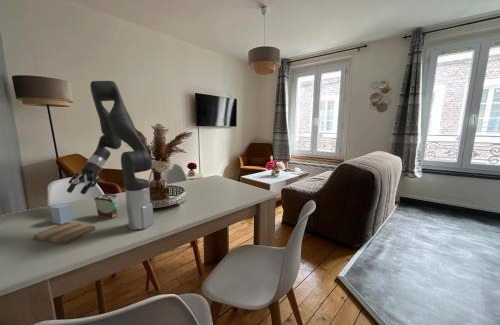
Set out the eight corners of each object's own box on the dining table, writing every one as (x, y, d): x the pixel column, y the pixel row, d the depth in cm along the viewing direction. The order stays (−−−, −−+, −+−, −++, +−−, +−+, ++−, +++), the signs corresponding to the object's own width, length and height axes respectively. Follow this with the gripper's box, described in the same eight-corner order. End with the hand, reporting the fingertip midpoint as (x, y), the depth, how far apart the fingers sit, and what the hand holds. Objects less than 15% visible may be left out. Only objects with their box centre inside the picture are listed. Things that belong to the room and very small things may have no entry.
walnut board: (95, 229, 94) (94, 226, 93) (65, 244, 82) (65, 240, 82) (66, 225, 97) (65, 222, 97) (34, 238, 86) (33, 235, 86)
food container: (125, 214, 109) (124, 195, 108) (114, 219, 104) (112, 199, 102) (107, 211, 113) (105, 192, 112) (96, 215, 108) (93, 196, 106)
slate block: (72, 219, 103) (70, 204, 102) (61, 224, 99) (58, 208, 97) (64, 218, 105) (61, 203, 103) (52, 222, 100) (50, 207, 99)
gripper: (78, 160, 114) (57, 188, 105) (100, 162, 111) (80, 190, 102) (88, 168, 120) (70, 195, 111) (110, 170, 117) (92, 197, 108)
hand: (75, 192), depth 107 cm, fingers open, 8 cm apart
